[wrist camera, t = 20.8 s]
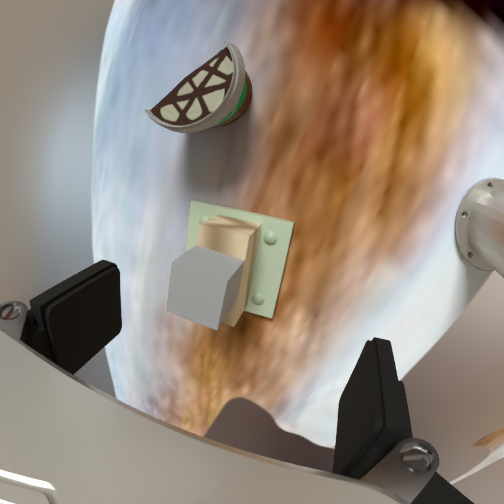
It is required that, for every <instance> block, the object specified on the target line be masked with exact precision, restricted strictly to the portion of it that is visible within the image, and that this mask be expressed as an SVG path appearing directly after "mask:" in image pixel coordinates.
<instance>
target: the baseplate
mask: <svg viewBox="0 0 504 504" xmlns="http://www.w3.org/2000/svg"><path fill="white" fill-rule="evenodd" d="M217 214H219V215H224V216H228V217H233V218H237V219H241V220H246V221H250V222H255V223H259V224H262V225H261V230H260V236H259V241H258V247H257V252H256V258H255V263H254V269H253V274H252V280H251V285H250V291H249V296H248V302H247V306H246V308H245V309H244V311H247V312H250V313H254V314H257V315H261V316H265V317H268V318H272V317H273V314H274V310H275V306H276V302H277V297H278V293H279V289H280V284H281V280H282V276H283V271H284V267H285V263H286V258H287V254H288V249H289V245H290V240H291V235H292V231H293V226H294V222H292V221H288V220H284V219H279V218H275V217H271V216H267V215H262V214H258V213H253V212H249V211H245V210H240V209H236V208H231V207H226V206H222V205H217V204H213V203H208V202H203V201H198V200H192V201H191V204H190V213H189V222H188V231H187V240H186V251H185V253H186V252H187V251H189V250H190V249H191V248H193V247H194V246H196V245H197V239H198V230H199V224H201V223H203V222H204V221H206V220H208V219H210V218H212V217H213V216H215V215H217Z"/></svg>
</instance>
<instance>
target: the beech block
mask: <svg viewBox="0 0 504 504" xmlns="http://www.w3.org/2000/svg"><path fill="white" fill-rule="evenodd" d="M261 225H262V224H259V223H255V222H250V221H246V220H241V219H237V218H233V217H228V216H224V215H219V214H217V215H215V216H213V217H212V218H210V219H208V220H206V221H204V222H203V223H201V224H199V230H198V239H197V245H198V246H201V247H205V248H208V249H211V250H214V251H217V252H220V253H223V254H226V255H230V256H233V257H236V258H239V259H242V260H245V261H244V266H243V270H242V274H241V278H240V283H239V287H238V291H237V295H236V300H235V304H234V306H233V308H232V309H231V311H230V312H229V314H228V315H227V317H226V318H225V320H224V321H223V322H222V323H223V324H226V325H230V326H233V327H234V326H235V324H236V323H237V321H238V319H239V318H240V316H241V314H242V313H243V311H244V309H245V308H246V306H247V302H248V296H249V291H250V285H251V280H252V274H253V269H254V263H255V258H256V252H257V247H258V241H259V236H260V230H261Z"/></svg>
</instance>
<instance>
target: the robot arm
mask: <svg viewBox="0 0 504 504" xmlns="http://www.w3.org/2000/svg"><path fill="white" fill-rule="evenodd" d="M487 184H488V186H487ZM463 212H464V214H463V215H462V213H463ZM455 232H456V239H457V243H458V246H459V249H460V250H461V252H462V254H463V256H464V257H465V258H466V259H467V261H469V262H470V263H471V264H472V265H473V266H475V267H476V268H478V269H481V270H484V271H493V270H496V271H497V272H498V273H499V274H500V275H501V276H502V277H504V180H503V179H499V178H487V179H484V180H481V181H479V182H478V183H476V184H475V185H473V186H472V187H471V188H470V189H469V190H468V192H467V193H466V194H465V196H464V197H463V199H462V201H461V203H460V206H459V209H458V212H457V217H456V230H455ZM468 253H469V254H468ZM30 305H31V309H30V310H29V311H28V309H27V306H26V305H25V304H24V303H22V302H20V301H8V302H4V303H2V304H0V504H474V503H473V502H471V501H470V500H469V499H468V498H467V497H465V496H464V495H463V494H462V493H461V492H459V491H458V490H457V489H455V487H453V486H452V485H451V484H450V483H449V482H447V481H446V480H445V479H444V478H443V477H441V476H440V475H439V474H438V473H437V472H436V471H437V468H438V466H439V457H438V453H437V451H436V450H435V448H434V447H433V446H432V445H431V444H430V443H428V442H426V441H424V440H422V439H419V438H413V437H412V431H411V423H410V417H409V410H408V405H407V399H406V393H405V388H404V384H403V382H402V381H398V377H397V371H396V366H395V361H394V356H393V351H392V347H391V342H390V341H389V340H385V339H380V338H376V337H374V338H373V340H372V341H370V340H368V341H367V342H366V344H365V346H364V348H363V350H362V353H361V355H360V357H359V359H358V362H357V364H356V366H355V368H354V370H353V372H352V374H351V377H350V379H349V381H348V383H347V385H346V387H345V389H344V391H343V393H342V395H341V397H340V401H339V408H338V422H337V434H336V445H335V455H334V464H333V472H332V473H329V472H325V471H321V470H317V469H312V468H308V467H303V466H299V465H294V464H290V463H286V462H282V461H278V460H275V459H271V458H267V457H264V456H260V455H257V454H253V453H250V452H247V451H243V450H240V449H237V448H234V447H230V446H227V445H224V444H221V443H218V442H216V441H213V440H210V439H207V438H204V437H202V436H199V435H196V434H194V433H191V432H188V431H186V430H183V429H181V428H178V427H176V426H174V425H171V424H169V423H166V422H164V421H162V420H159V419H157V418H155V417H153V416H150V415H148V414H146V413H144V412H142V411H140V410H138V409H135V408H133V407H131V406H129V405H127V404H125V403H123V402H121V401H119V400H117V399H115V398H113V397H112V396H110V395H108V394H106V393H104V392H102V391H100V390H98V389H97V388H95V387H93V386H91V385H90V384H88V383H86V382H84V381H82V380H81V379H79V378H78V377H76V376H74V373H76V372H77V371H78V370H79V369H80V368H81V367H82V366H84V365H85V364H86V363H87V362H88V361H89V360H90V359H91V358H92V357H93V356H94V355H95V354H97V353H98V352H99V351H100V350H101V349H102V348H103V347H105V346H106V345H107V344H108V343H109V342H110V341H111V340H112V339H114V338H115V337H116V336H117V335H118V334H119V333H120V331H121V328H122V318H121V296H120V271H119V269H118V268H117V265H116V264H115V263H112V262H109V261H106V260H101V261H99V262H97V263H95V264H93V265H92V266H90V267H88V268H86V269H84V270H82V271H81V272H79V273H77V274H75V275H73V276H72V277H70V278H68V279H66V280H64V281H63V282H61V283H59V284H57V285H56V286H54V287H52V288H51V289H49V290H47V291H45V292H43V293H42V294H40V295H38V296H36V297H35V298H33V299H31V300H30Z"/></svg>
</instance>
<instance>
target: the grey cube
mask: <svg viewBox="0 0 504 504" xmlns="http://www.w3.org/2000/svg"><path fill="white" fill-rule="evenodd" d="M244 261H245V260H242V259H239V258H236V257H233V256H230V255H226V254H223V253H220V252H217V251H214V250H211V249H208V248H205V247H201V246H198V245H196V246H194V247H193V248H191V249H190V250H189V251H187V252H186V253H184V254H183V255H181V256H180V257H179V258H177V259H176V260H174V261H173V262H172V268H171V276H170V285H169V294H168V303H167V311H168V312H170V313H173V314H175V315H178V316H180V317H183V318H185V319H188V320H190V321H193V322H196V323H198V324H201V325H203V326H206V327H209V328H211V329H214V330H218V328H219V327H220V325H221V324H222V322H223V321H224V320H225V318H226V317H227V315H228V314H229V312H230V311H231V309H232V308H233V306H234V304H235V300H236V295H237V291H238V287H239V283H240V278H241V274H242V270H243V266H244Z"/></svg>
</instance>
